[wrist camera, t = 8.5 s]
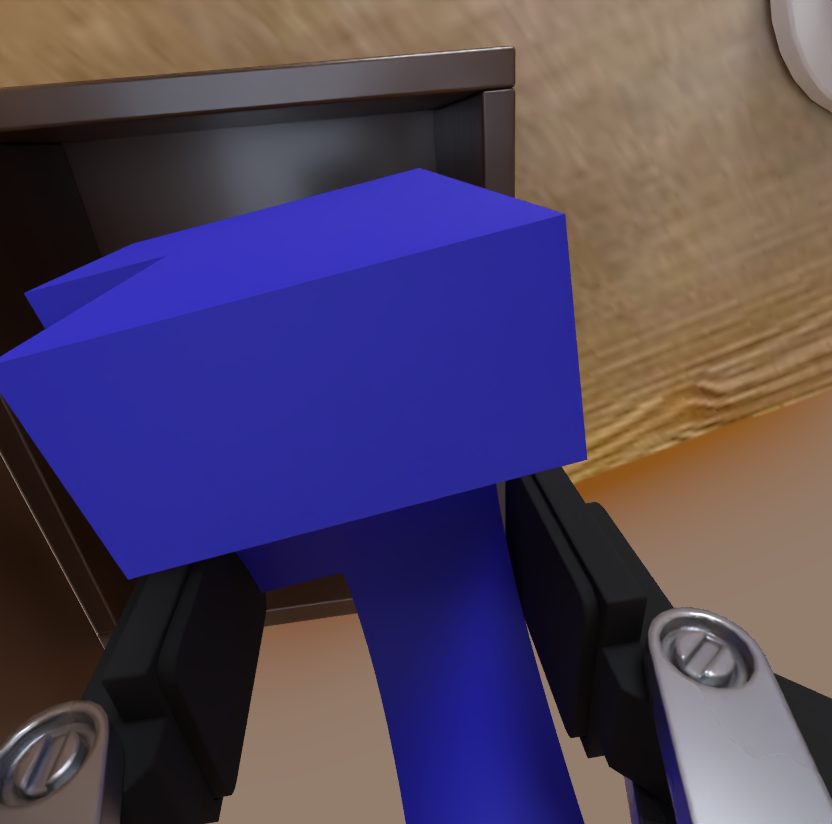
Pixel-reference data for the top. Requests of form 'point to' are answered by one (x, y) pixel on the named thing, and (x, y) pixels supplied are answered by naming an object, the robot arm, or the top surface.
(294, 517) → the blue notched block
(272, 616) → the keepsake box
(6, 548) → the lid
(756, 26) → the top surface
